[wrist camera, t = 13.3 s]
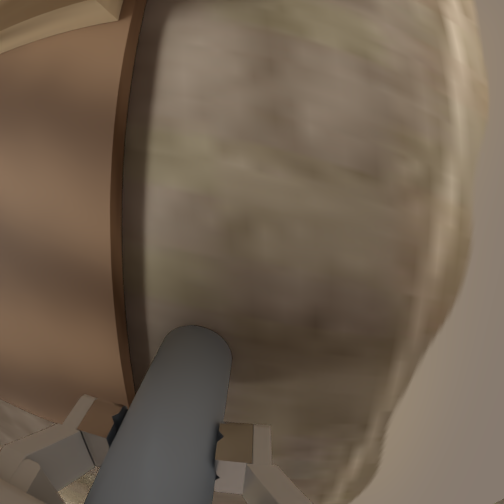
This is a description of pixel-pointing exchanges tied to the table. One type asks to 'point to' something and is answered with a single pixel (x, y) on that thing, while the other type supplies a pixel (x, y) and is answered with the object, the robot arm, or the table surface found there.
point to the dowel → (170, 426)
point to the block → (50, 18)
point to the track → (65, 217)
